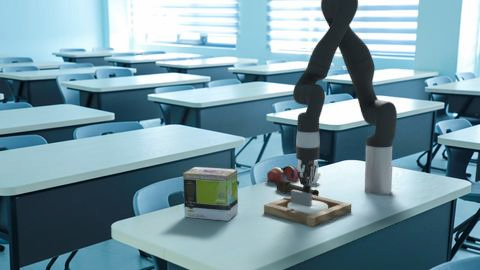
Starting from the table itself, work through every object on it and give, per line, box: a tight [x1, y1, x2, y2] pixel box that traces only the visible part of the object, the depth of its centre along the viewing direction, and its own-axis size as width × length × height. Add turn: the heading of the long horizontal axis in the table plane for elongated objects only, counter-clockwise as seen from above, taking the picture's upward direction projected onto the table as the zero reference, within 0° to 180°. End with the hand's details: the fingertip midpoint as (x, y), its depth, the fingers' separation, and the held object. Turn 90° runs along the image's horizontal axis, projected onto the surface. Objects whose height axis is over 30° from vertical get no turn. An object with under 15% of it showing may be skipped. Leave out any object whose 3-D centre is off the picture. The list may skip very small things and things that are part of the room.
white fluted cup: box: [311, 168, 322, 185], centre depth 235 cm, size 6×6×7 cm
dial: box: [288, 190, 328, 214], centre depth 198 cm, size 13×13×6 cm
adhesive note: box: [296, 159, 319, 172], centre depth 249 cm, size 6×6×6 cm
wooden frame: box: [263, 195, 352, 228], centre depth 199 cm, size 20×20×3 cm
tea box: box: [182, 166, 239, 222], centre depth 196 cm, size 15×10×15 cm, turn 71°
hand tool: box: [275, 179, 320, 196], centre depth 219 cm, size 19×4×5 cm, turn 40°
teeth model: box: [266, 165, 300, 184], centre depth 238 cm, size 8×6×12 cm
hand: (306, 195), depth 203 cm, fingers closed
